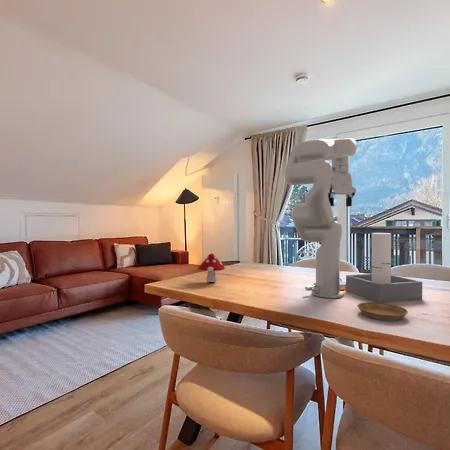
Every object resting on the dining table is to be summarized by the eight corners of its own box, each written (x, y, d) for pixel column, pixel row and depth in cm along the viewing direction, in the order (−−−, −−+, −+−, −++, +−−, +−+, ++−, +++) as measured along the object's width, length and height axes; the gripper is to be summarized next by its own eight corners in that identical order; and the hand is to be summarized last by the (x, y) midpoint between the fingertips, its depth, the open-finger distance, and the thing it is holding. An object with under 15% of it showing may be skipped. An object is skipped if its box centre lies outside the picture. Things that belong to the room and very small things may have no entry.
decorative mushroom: (222, 286, 140) (222, 255, 140) (194, 285, 142) (194, 254, 142) (226, 280, 154) (226, 252, 154) (201, 279, 156) (201, 251, 156)
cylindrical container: (393, 294, 119) (393, 233, 118) (374, 294, 120) (374, 233, 120) (387, 290, 126) (387, 232, 125) (369, 290, 127) (369, 232, 127)
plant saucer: (348, 310, 103) (348, 303, 102) (383, 307, 106) (383, 300, 106) (379, 325, 88) (379, 316, 88) (419, 321, 91) (419, 313, 91)
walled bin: (379, 302, 111) (379, 284, 111) (346, 290, 130) (346, 275, 130) (422, 299, 116) (422, 281, 116) (383, 288, 135) (383, 273, 135)
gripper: (328, 168, 135) (328, 205, 135) (361, 170, 139) (360, 206, 139) (319, 171, 142) (319, 206, 142) (350, 172, 146) (350, 206, 146)
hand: (340, 206), depth 141 cm, fingers open, 9 cm apart
